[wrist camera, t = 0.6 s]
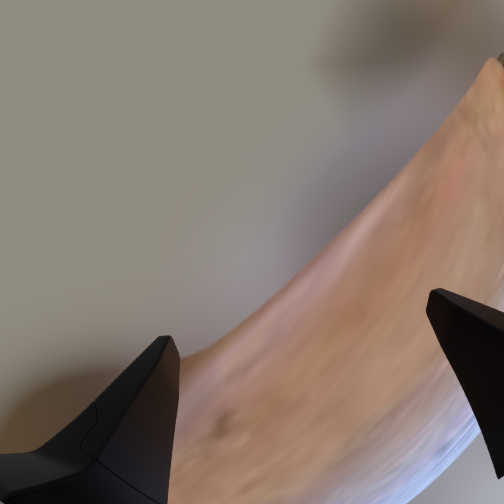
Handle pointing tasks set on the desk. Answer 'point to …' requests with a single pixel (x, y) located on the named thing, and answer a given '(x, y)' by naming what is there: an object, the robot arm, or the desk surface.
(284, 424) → the desk surface
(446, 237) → the desk surface
